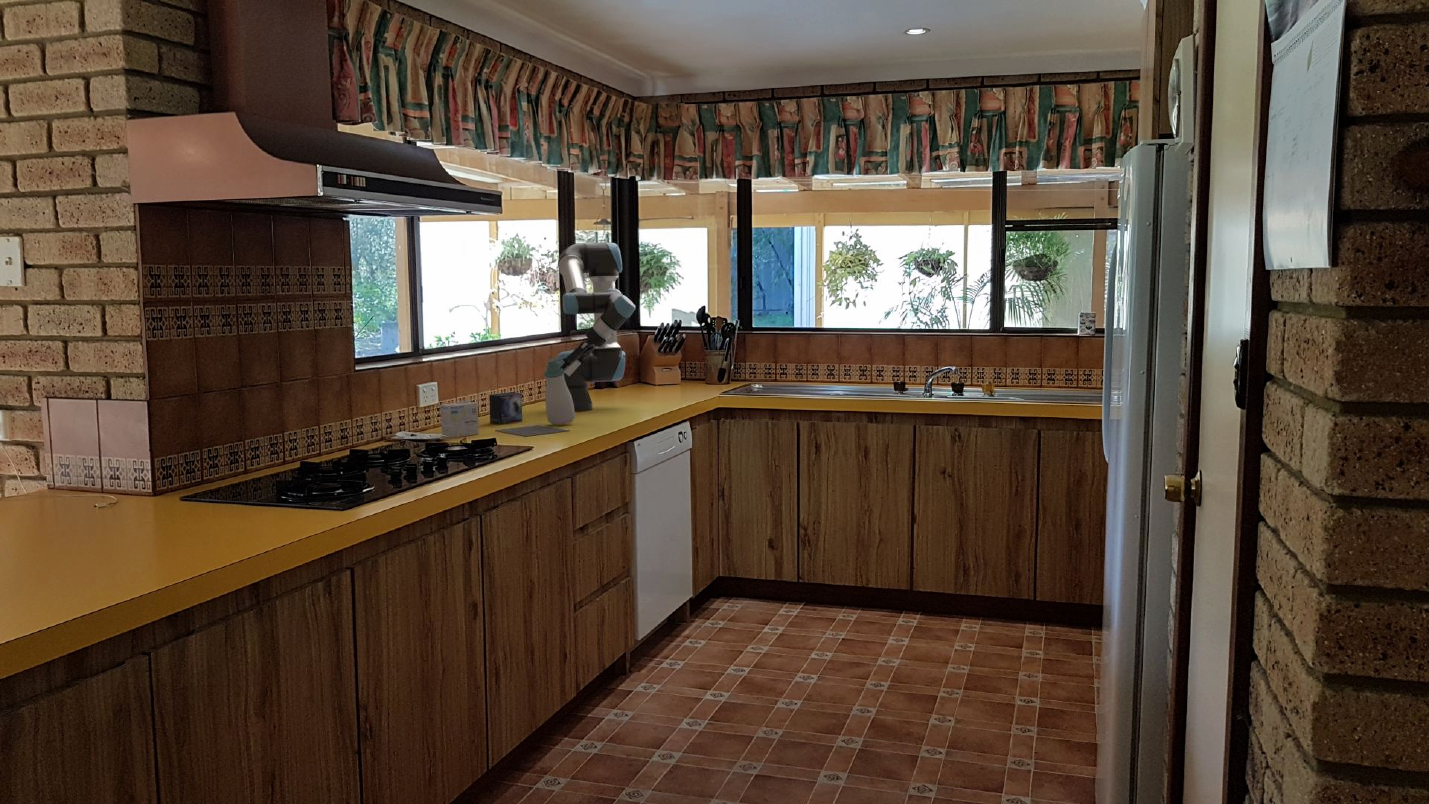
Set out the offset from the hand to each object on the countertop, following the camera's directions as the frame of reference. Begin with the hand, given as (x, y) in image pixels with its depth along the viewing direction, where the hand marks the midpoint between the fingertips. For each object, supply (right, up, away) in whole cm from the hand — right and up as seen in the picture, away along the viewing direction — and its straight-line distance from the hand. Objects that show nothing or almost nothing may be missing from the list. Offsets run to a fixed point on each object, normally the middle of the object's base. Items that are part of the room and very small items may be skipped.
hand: (560, 375), depth 383 cm
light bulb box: (-30, -21, -26) cm, 45 cm away
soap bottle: (+1, -16, -4) cm, 17 cm away
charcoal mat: (-7, -19, -20) cm, 29 cm away
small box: (-20, -17, +4) cm, 27 cm away
